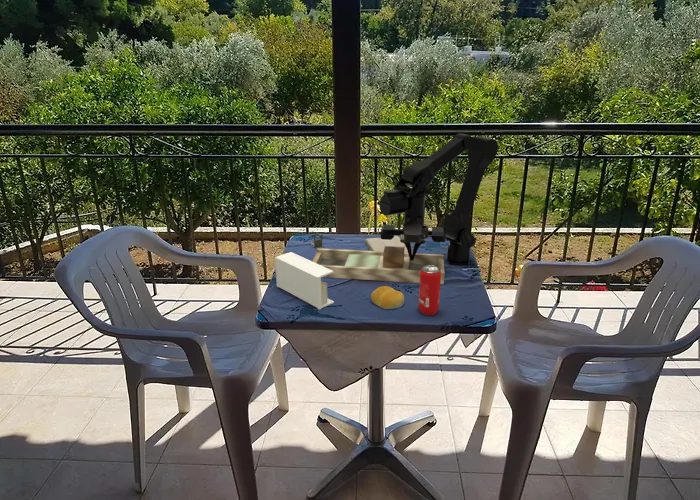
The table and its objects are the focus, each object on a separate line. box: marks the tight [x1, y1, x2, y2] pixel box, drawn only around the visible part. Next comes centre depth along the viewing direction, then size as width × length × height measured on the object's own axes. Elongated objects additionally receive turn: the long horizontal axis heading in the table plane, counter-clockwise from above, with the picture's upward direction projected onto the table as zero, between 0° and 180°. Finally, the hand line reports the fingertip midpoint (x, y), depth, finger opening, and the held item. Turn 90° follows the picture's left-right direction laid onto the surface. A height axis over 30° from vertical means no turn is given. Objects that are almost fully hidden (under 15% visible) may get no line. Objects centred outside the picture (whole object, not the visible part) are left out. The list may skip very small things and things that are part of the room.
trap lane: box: [311, 248, 446, 285], centre depth 155 cm, size 40×14×4 cm, turn 81°
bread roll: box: [370, 285, 405, 310], centre depth 136 cm, size 8×9×4 cm
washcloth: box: [364, 235, 408, 253], centre depth 171 cm, size 12×18×3 cm, turn 12°
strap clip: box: [309, 235, 327, 250], centre depth 174 cm, size 8×3×4 cm, turn 27°
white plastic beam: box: [274, 251, 335, 310], centre depth 140 cm, size 20×6×9 cm, turn 43°
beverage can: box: [418, 265, 442, 316], centre depth 130 cm, size 5×5×12 cm
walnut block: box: [383, 246, 405, 268], centre depth 154 cm, size 6×6×4 cm
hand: (411, 260), depth 153 cm, fingers closed
